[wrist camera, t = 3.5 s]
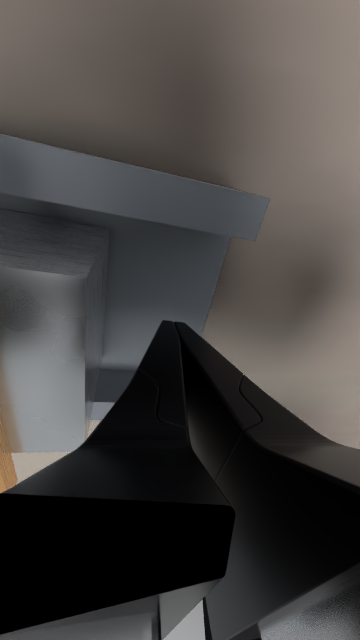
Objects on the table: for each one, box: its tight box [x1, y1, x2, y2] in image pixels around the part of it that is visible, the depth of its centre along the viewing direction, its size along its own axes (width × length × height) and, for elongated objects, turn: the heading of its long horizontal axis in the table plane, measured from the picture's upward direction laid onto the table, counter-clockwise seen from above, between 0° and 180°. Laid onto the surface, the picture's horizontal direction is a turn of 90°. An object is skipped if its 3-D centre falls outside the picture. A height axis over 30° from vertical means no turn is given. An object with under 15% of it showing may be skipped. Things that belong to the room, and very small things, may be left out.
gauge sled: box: [0, 209, 109, 493], centre depth 7 cm, size 9×5×5 cm, turn 168°
